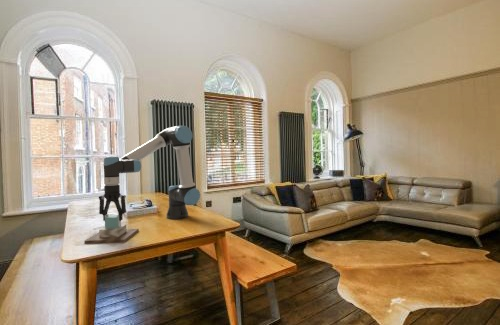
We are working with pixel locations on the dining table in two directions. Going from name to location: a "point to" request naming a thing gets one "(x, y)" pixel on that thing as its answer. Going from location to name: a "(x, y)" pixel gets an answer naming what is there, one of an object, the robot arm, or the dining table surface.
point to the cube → (111, 222)
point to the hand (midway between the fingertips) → (113, 226)
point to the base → (111, 239)
